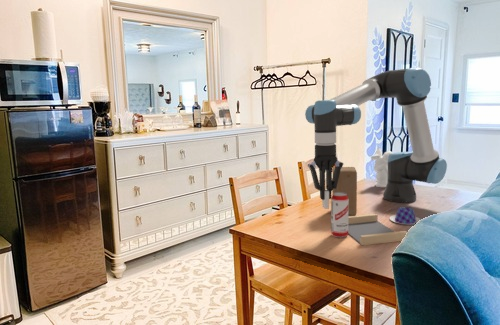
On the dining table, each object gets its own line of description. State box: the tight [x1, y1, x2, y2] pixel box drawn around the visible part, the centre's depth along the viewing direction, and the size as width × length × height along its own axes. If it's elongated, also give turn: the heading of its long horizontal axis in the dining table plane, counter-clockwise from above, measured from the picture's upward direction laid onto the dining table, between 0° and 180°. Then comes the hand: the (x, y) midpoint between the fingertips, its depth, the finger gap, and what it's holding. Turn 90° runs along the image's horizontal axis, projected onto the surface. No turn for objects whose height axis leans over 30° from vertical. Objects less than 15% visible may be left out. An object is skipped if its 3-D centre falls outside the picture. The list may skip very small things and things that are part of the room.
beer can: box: [330, 192, 349, 239], centre depth 137 cm, size 6×6×16 cm
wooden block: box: [332, 166, 358, 217], centre depth 163 cm, size 10×10×20 cm
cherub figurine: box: [370, 146, 394, 189], centre depth 207 cm, size 12×12×22 cm
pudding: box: [389, 206, 422, 226], centre depth 151 cm, size 12×12×5 cm
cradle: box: [348, 213, 408, 246], centre depth 140 cm, size 17×22×3 cm
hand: (325, 207), depth 135 cm, fingers closed
